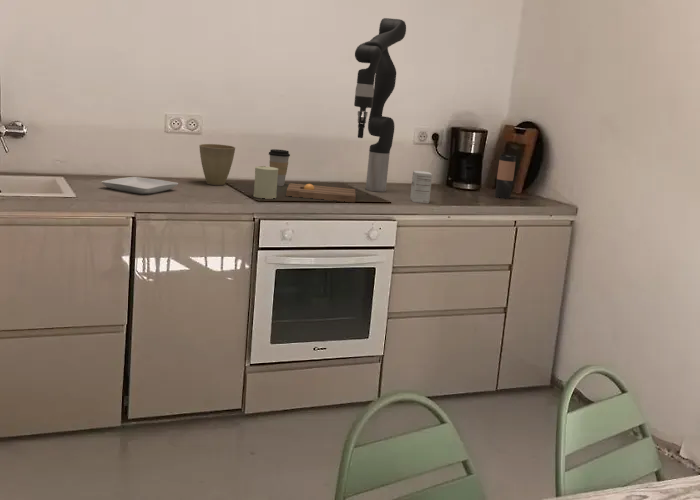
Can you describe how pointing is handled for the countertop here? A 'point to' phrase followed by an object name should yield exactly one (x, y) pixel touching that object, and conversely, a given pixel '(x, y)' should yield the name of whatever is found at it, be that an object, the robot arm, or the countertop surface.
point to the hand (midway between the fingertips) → (360, 137)
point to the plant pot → (216, 162)
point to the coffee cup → (279, 163)
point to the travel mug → (505, 176)
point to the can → (265, 182)
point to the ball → (309, 187)
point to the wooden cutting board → (322, 193)
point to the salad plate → (139, 185)
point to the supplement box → (421, 186)
